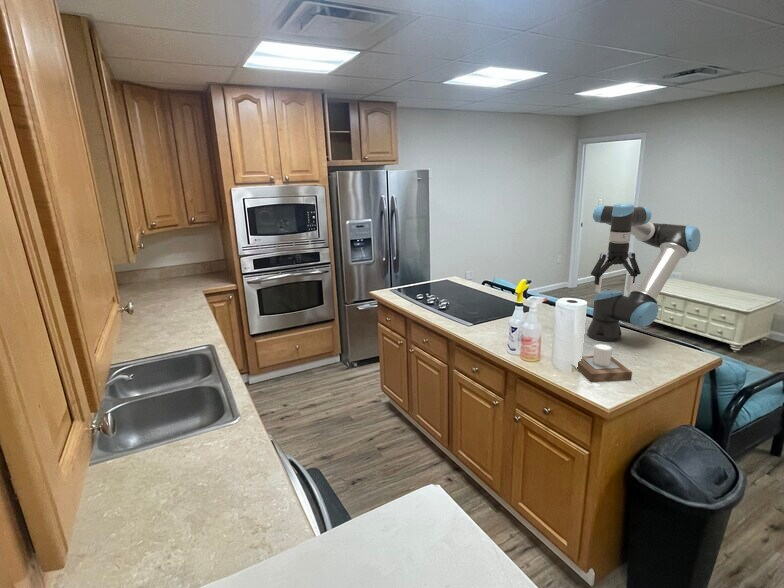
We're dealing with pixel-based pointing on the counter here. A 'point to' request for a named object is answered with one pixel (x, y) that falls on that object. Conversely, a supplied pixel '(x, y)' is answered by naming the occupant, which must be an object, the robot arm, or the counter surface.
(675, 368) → the counter surface
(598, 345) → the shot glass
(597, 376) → the walnut base
